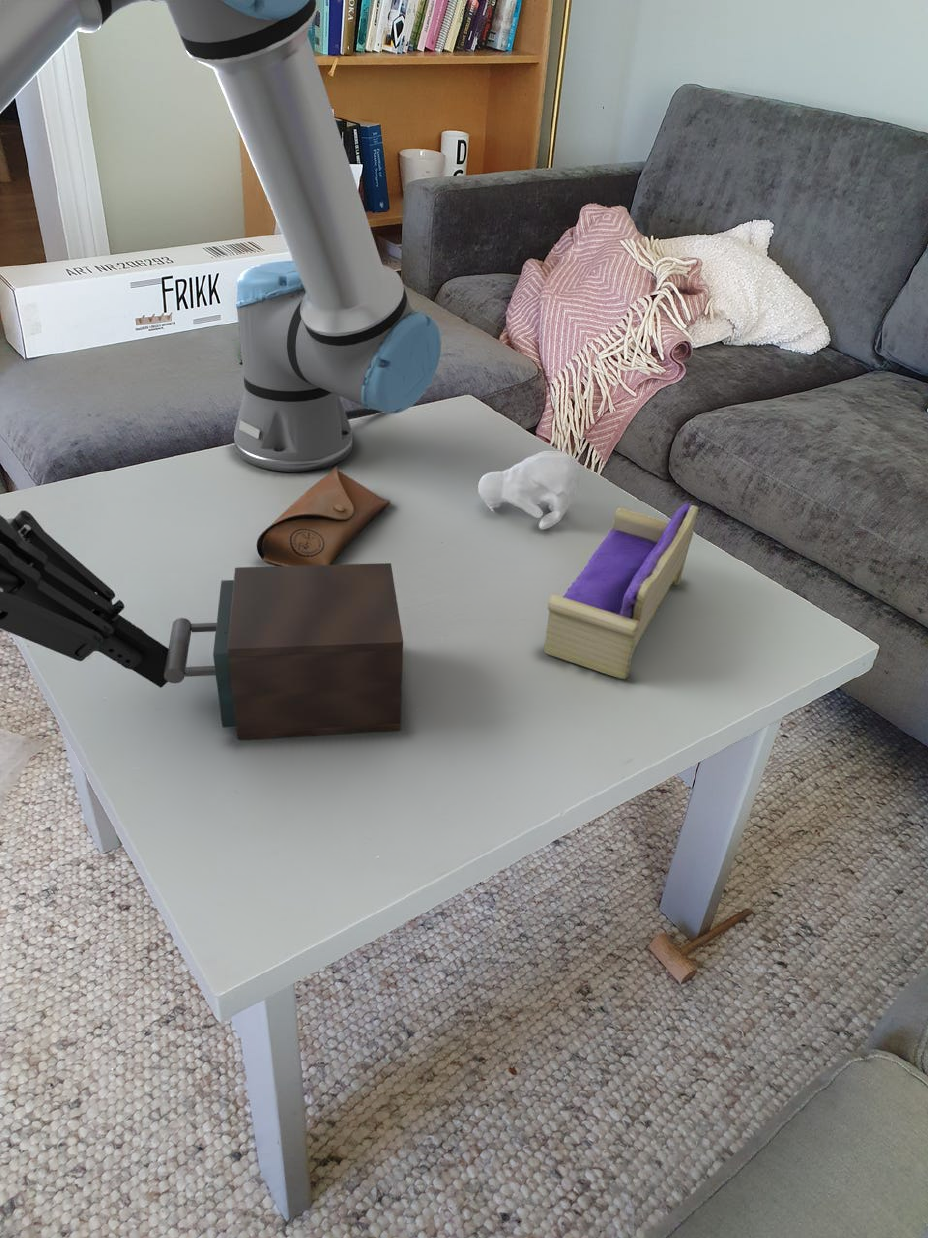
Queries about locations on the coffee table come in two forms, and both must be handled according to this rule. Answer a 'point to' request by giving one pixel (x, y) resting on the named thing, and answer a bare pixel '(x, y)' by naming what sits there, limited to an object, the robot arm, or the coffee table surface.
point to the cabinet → (315, 650)
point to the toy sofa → (619, 591)
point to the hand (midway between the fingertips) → (172, 673)
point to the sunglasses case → (320, 523)
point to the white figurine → (534, 485)
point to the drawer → (180, 647)
